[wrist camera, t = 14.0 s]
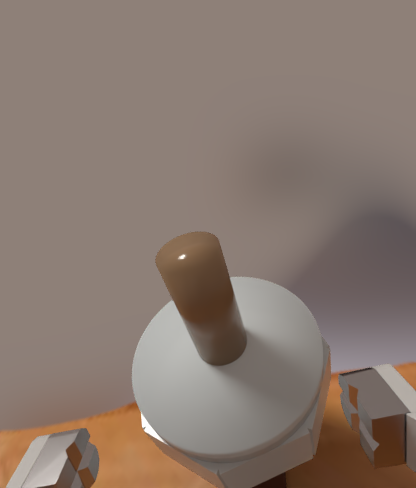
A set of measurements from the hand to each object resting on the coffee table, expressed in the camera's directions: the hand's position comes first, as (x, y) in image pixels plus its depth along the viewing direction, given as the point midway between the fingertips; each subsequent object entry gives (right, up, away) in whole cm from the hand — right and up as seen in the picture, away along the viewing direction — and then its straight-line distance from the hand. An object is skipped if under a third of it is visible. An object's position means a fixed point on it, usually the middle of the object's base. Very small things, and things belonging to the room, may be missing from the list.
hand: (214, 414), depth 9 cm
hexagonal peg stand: (+2, -7, +16) cm, 17 cm away
